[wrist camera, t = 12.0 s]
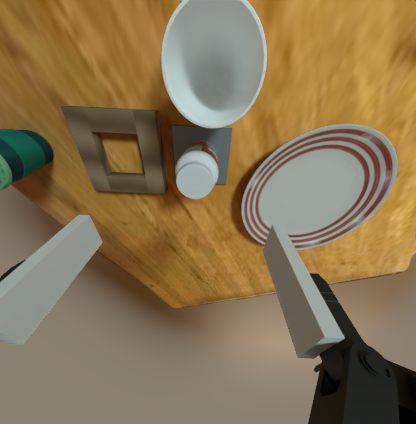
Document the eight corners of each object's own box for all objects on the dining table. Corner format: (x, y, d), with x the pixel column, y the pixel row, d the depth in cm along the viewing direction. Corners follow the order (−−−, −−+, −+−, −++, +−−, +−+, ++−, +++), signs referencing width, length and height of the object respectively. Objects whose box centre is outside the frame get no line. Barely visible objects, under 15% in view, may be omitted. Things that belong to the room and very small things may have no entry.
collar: (70, 106, 25) (60, 106, 24) (158, 110, 25) (154, 111, 24) (100, 186, 33) (95, 190, 32) (167, 189, 33) (165, 194, 32)
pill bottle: (221, 170, 30) (223, 199, 21) (190, 177, 31) (180, 208, 22) (213, 135, 27) (212, 152, 18) (179, 144, 28) (161, 165, 19)
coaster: (171, 125, 26) (171, 125, 26) (231, 128, 26) (232, 128, 26) (176, 181, 32) (175, 182, 32) (225, 183, 32) (225, 184, 32)
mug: (252, 101, 24) (278, 100, 14) (200, 128, 27) (192, 143, 17) (223, -12, 18) (233, -144, 8) (160, 37, 21) (111, -23, 11)
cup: (2, 122, 27) (-120, 133, 17) (46, 117, 26) (-53, 127, 17) (35, 168, 32) (-46, 198, 22) (74, 165, 31) (8, 195, 21)
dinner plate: (407, 187, 32) (425, 195, 29) (289, 256, 44) (294, 267, 42) (334, 77, 23) (351, 73, 20) (213, 204, 35) (213, 212, 33)
